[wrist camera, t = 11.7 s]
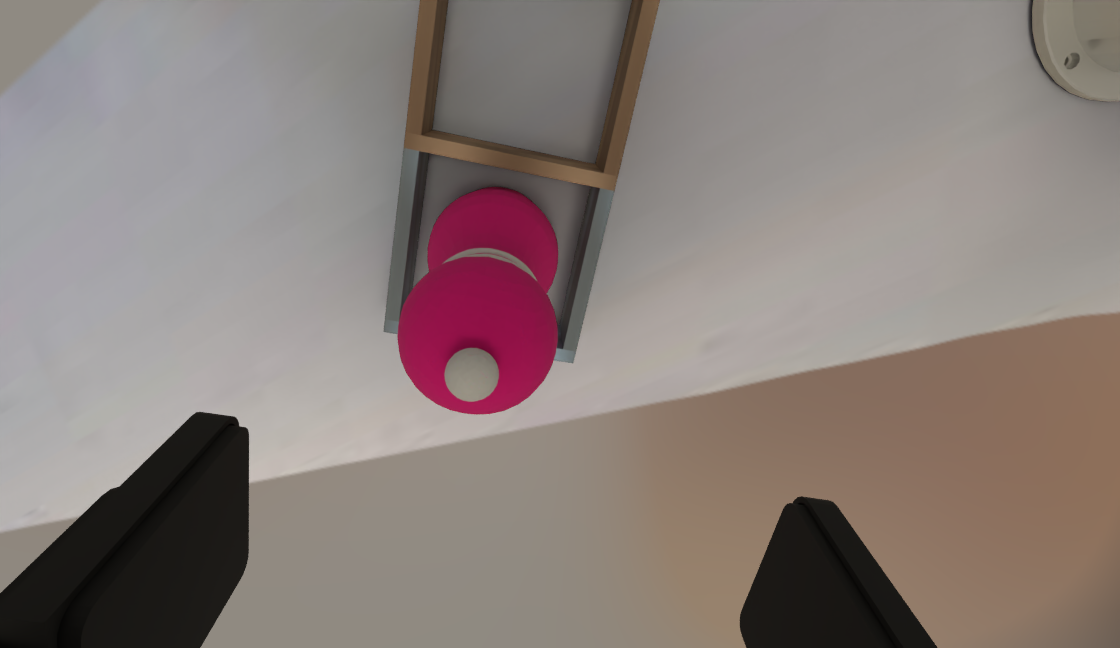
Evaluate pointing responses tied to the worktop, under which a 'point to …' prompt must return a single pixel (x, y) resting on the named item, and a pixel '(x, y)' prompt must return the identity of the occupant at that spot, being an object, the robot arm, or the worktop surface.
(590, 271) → the organizer
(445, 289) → the pepper mill
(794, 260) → the worktop surface
